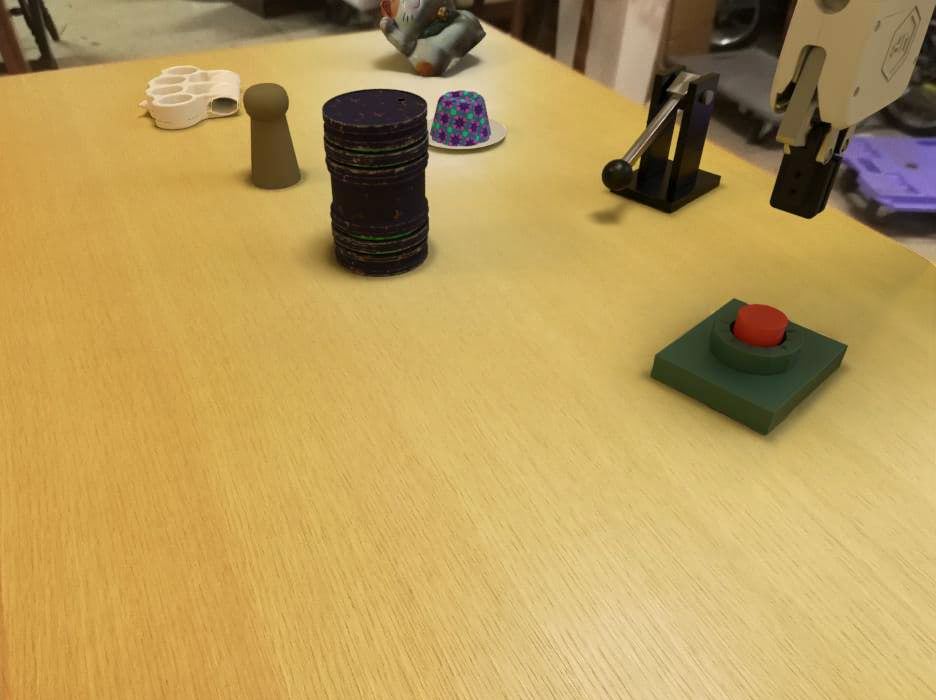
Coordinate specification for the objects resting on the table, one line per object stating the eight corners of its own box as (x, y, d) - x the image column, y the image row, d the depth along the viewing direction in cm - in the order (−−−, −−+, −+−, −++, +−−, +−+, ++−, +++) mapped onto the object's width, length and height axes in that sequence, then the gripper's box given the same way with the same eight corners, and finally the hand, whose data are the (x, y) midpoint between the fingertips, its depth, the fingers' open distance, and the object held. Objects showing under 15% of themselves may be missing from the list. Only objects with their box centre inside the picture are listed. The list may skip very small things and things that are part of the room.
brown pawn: (310, 173, 97) (301, 81, 89) (281, 192, 93) (268, 98, 86) (271, 164, 99) (259, 74, 92) (241, 182, 95) (226, 90, 88)
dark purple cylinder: (362, 287, 76) (352, 135, 66) (317, 246, 82) (302, 102, 73) (448, 258, 79) (450, 110, 70) (398, 221, 86) (394, 81, 76)
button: (767, 354, 60) (773, 335, 59) (723, 334, 62) (729, 316, 61) (790, 335, 61) (796, 316, 60) (747, 316, 64) (753, 298, 62)
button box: (765, 435, 58) (781, 393, 56) (650, 376, 64) (659, 335, 61) (839, 367, 64) (856, 326, 61) (728, 318, 70) (739, 279, 67)
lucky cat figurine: (435, 83, 121) (391, -6, 115) (397, 95, 131) (354, 14, 125) (501, 33, 125) (461, -54, 119) (459, 49, 135) (420, -31, 129)
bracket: (670, 213, 86) (695, 94, 77) (609, 191, 90) (627, 76, 82) (719, 185, 91) (747, 70, 82) (659, 166, 95) (680, 55, 87)
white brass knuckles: (240, 124, 110) (134, 133, 109) (242, 83, 124) (148, 90, 122) (236, 100, 108) (128, 108, 107) (239, 61, 122) (143, 68, 120)
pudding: (524, 134, 104) (527, 94, 101) (466, 162, 98) (467, 120, 94) (455, 114, 111) (455, 75, 107) (396, 139, 104) (395, 99, 101)
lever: (623, 200, 82) (618, 180, 80) (598, 191, 84) (592, 171, 82) (706, 96, 84) (704, 73, 81) (680, 89, 86) (677, 66, 83)
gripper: (913, -76, 37) (795, 266, 49) (1021, -110, 45) (896, 193, 56) (764, -91, 41) (688, 226, 53) (885, -120, 49) (795, 163, 61)
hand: (795, 209), depth 55 cm, fingers closed
